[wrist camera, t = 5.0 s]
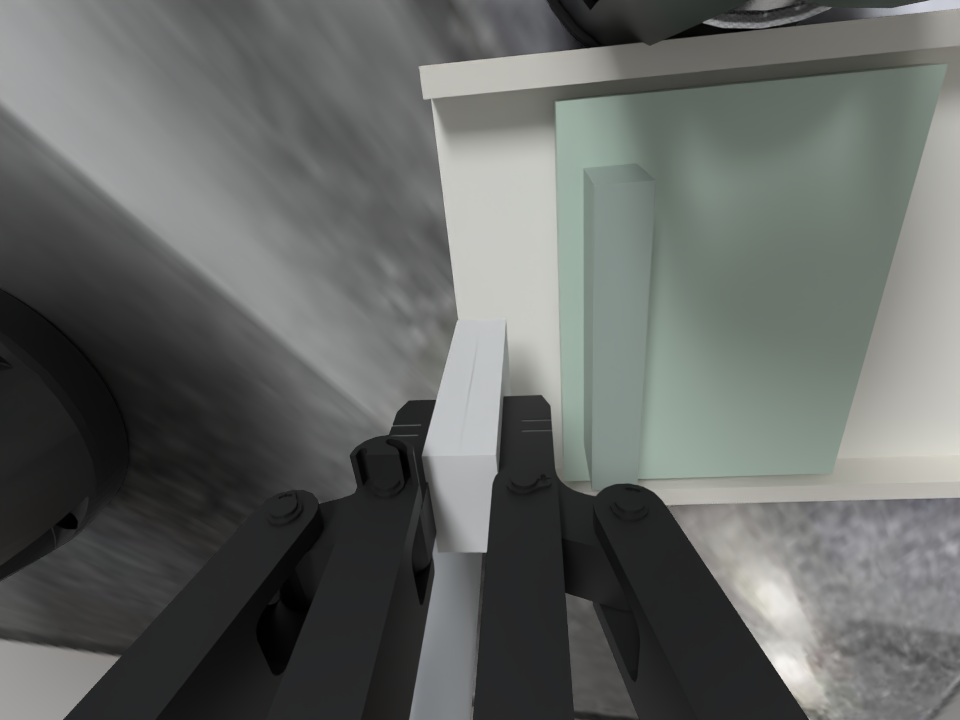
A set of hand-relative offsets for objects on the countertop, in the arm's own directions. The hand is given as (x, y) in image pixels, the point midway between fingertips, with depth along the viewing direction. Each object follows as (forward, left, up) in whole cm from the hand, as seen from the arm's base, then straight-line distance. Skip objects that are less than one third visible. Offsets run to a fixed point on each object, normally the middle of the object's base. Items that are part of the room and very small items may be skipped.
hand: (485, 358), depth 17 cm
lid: (+8, 0, -3) cm, 8 cm away
